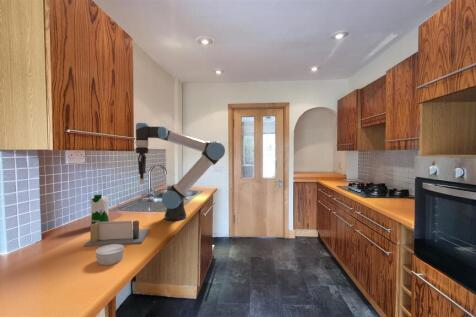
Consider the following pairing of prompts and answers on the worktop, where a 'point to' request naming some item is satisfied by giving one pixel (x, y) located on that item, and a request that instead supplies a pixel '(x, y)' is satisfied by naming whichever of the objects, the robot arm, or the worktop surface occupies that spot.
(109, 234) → the rod
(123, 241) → the board
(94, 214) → the milk carton
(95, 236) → the post
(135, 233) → the hinge post
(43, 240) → the worktop surface
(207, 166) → the robot arm
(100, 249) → the ramekin
